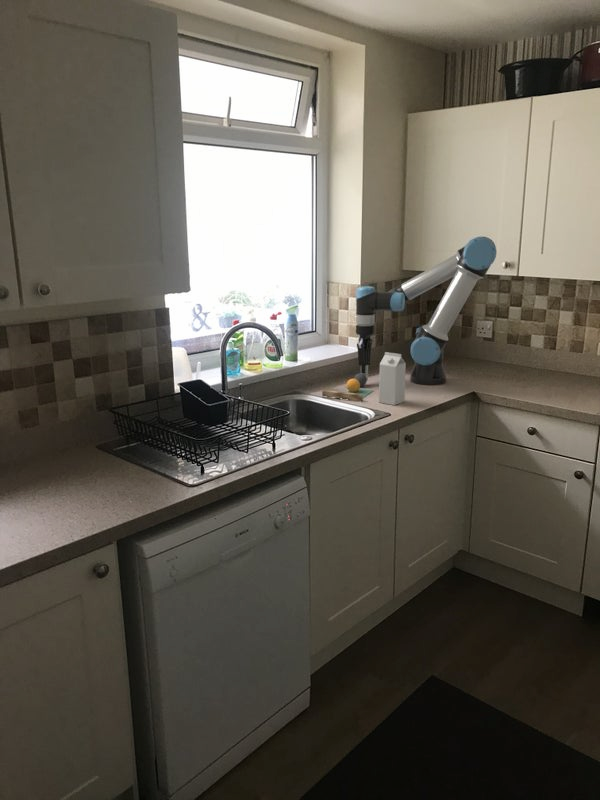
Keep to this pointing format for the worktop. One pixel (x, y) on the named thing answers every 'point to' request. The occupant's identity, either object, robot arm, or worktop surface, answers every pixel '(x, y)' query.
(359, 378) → the dark gray ball
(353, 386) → the object ball
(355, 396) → the rail
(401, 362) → the milk carton
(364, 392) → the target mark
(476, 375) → the worktop surface
